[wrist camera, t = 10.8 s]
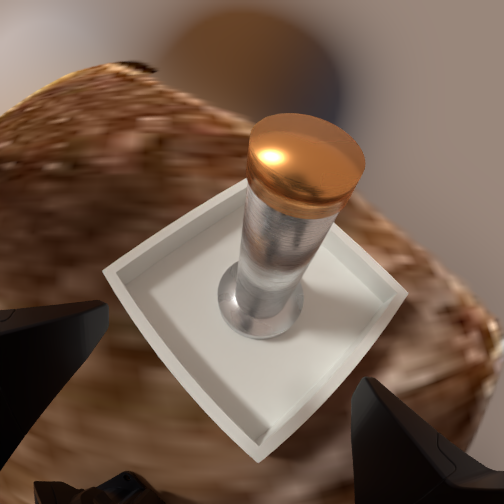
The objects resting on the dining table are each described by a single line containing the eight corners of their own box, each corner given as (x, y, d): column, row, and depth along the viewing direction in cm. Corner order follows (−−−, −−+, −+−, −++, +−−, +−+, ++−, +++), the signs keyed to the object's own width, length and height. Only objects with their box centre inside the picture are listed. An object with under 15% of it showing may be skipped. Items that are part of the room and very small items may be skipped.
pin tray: (253, 453, 15) (258, 463, 12) (115, 287, 20) (101, 270, 17) (389, 306, 21) (408, 293, 19) (261, 190, 26) (265, 167, 24)
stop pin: (230, 349, 18) (245, 239, 6) (209, 272, 20) (199, 105, 9) (311, 325, 19) (425, 204, 7) (284, 255, 22) (339, 100, 10)
